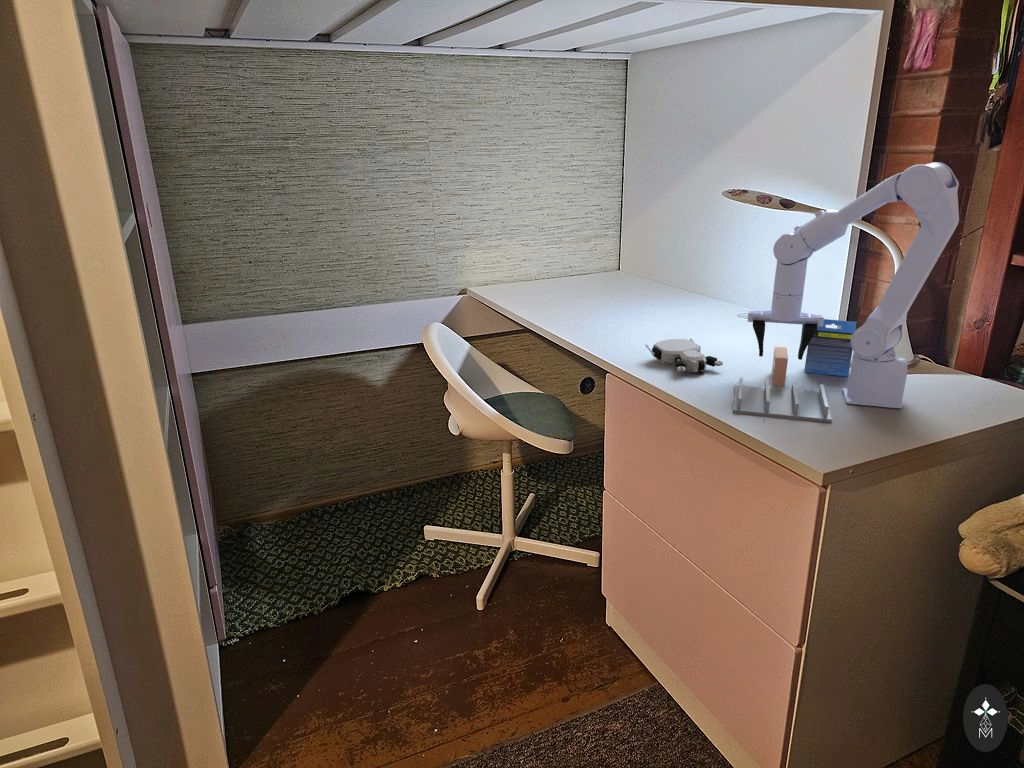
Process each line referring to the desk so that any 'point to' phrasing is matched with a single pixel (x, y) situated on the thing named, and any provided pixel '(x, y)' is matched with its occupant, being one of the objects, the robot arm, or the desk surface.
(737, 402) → the rack
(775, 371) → the tile
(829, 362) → the label tape box
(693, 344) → the robot toy
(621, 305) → the desk surface
